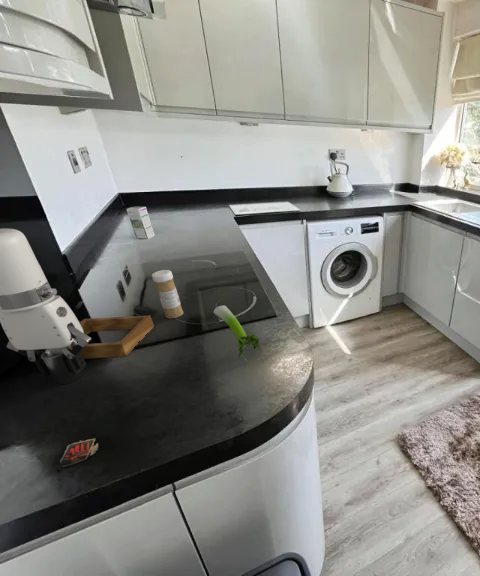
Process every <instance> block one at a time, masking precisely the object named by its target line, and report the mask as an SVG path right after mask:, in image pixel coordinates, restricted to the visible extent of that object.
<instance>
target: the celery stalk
mask: <svg viewBox="0 0 480 576" xmlns="http://www.w3.org/2000/svg"><path fill="white" fill-rule="evenodd" d="M213 314H214V315H215V316H217V317H218V318H220V319H221V320H223V322H225V323H226V324H227V325H228V327H229V328H230V330H231V331H232V332H233V333H234V336H235V338H236V340H237V343H238V351H239V352H238V355H237V360H239V359H240V358H241V356H242V358H243V359H244V360H245V361H246V362H248V360H247V359H246V357H245V355H244V353H243V352H244V350H245V349H244V348H246V347H248V346H250V345H252V347H253V349H254V350H258V351H260V352H261V353H263V351H262V349H261V346H260V344H259V341H260V337H259V336H257V335H256V334H253V333H252V332H251V333H250V334H247V333H246V332H245V330H244V328H243V326H242V325H241V323H240V322H239V320H238V318H237V317H236V316H235V315H234V314H233V312H232V311H231V310H230V309H229V308H228V307H227V306H226V305H219V306H216V307H215V308H214V311H213Z"/></svg>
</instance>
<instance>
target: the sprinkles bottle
mask: <svg viewBox="0 0 480 576" xmlns="http://www.w3.org/2000/svg"><path fill="white" fill-rule="evenodd" d="M151 278H152V281H153V282H154V285H155V288H156V290H157V294H158V296H159V300H160V303H161V306H162V307H161V308H162V309H163V312H164V314H165V315H164V316H165V318H167V319H169V320H170V319H177V318H179V317H181V316H183V315H184V310H183V308H182V305H181V300H180V296H179V293H178V290H177V287H176V284H175V282H174V275H173V272H172V271H171V270H170V269H162V270H157V271H154V272H152V274H151Z"/></svg>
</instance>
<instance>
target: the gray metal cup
mask: <svg viewBox="0 0 480 576" xmlns="http://www.w3.org/2000/svg"><path fill="white" fill-rule="evenodd" d="M68 347H69V346H68ZM69 349H70V347H69ZM70 350H71V349H70ZM41 358H42V360H43V362H44V364H45V365H46V367H47V369H48V371H49V372H50V376H51V378H52V379H53V380H54V383H55V384H56V385H58V386H63V385H69V384H71V383H74V382H75V381H77V380H79V379H81V377H83V373H84V372H83V371H82V370H83V369H82V370H81V371H80V372H79V373H78V374H72V372H71V370H70V368H69V366H68V364H67V363H66V359H67V357H66V355H65V354H64V353H63V352H62V351H61V350H60V349H59V348H51V349H49V350H47V351H45V352H43V353H42V354H41Z"/></svg>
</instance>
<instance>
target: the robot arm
mask: <svg viewBox="0 0 480 576" xmlns="http://www.w3.org/2000/svg"><path fill="white" fill-rule="evenodd" d="M0 325H1V327H2V330H3V331H4V333H5V335H6V337H7V339H8V342H7V344H6V348H7V349H9V350H11V351H14V352H17V353H19V354H20V355H21V356H22V355H23V356H25V357H27V358H28V359H27V360H29V361H30V362H34V363H35V366H36V367H37V369H38V370H39V372H40V374H41V376H42V377H44V378H45V377H49V376H51V374H50V372H49V371H48V369H47V367H46V365H45V364H44V362H43V360H42V358H41V354H42V353H43V352H45V351H46V349H51V348H59V349H60V350H61V351H62V352H63V353H64V354H65V355H66V357H67V359H66V363H67V364H68V366H69V368H70V370H71V372H72V374H78V373H79V372H80V371H81V370H84V368H86V367H87V363H86V359H84V358H83V356H82V354H81V351H82V350H83V348H84V347H85V346H86V345H87V344H90V343H91V341H93V337H90V336H89V335H86V334H84V331H83V329H82V327H81V325H80V320H78V318H77V316H76V314H75V313H74V312H73V310H72V309H71V307H70V306H69V304H68V303H67V302H66V301H65V299H64V298H62V297H61V295H58V290H57V289H56V288H52V287H51V285H50V283H49V281H48V279H47V277H46V275H45V273H44V271H43V269H42V267H41V264H40V263H39V261H38V259H37V257H36V255H35V253H34V251H33V249H32V247H31V244H30V243H29V241H28V238H27V237H26V235H25V234H24V233H23V232H22V231H20V230H18V229H15V228H7V227H6V228H0ZM76 340H77V341H78V343H77V341H76ZM68 346H71V347H72V348H73V349H72V350H70V349H69V347H68Z"/></svg>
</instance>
